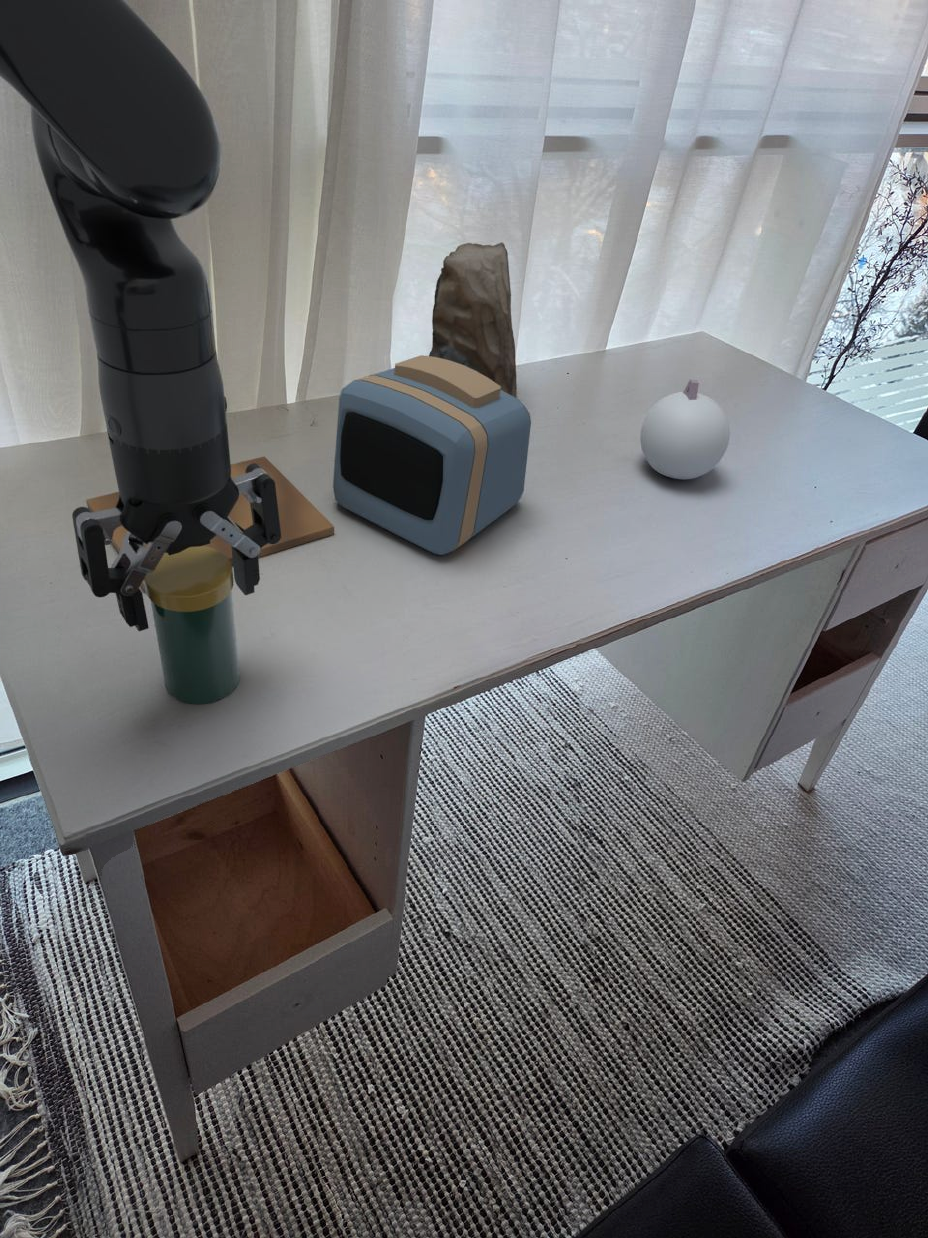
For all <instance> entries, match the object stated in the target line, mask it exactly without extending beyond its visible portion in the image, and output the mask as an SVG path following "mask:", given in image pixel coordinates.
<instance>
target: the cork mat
mask: <svg viewBox="0 0 928 1238" xmlns="http://www.w3.org/2000/svg"><path fill="white" fill-rule="evenodd" d="M253 463H256V464H258V465H259V466H260V467H261V468H262V469H263V470H264V471H265V472H266V473H267V474H268V475H269V476H270V477H271V478H272V479H273V480H274V482H275V487H276V495H277V504H278V512H279V520H280V529H281V539H280V541H279V542H278V543H276V544H269V543H268V544H266V545H265V546H263V547H262V548H261V549H260V553H259V554H258V559H259V558H261V557H265V556H269V555H272V554H275V553H279V552H281V551H284V550H287V549H291V548H294V547H298V546H301V545H304V544H307V543H311V542H314V541H317V540H321V539H323V538H326V537H330V536H333V535H335V526H334V525H333V524H332V523H331V522H330V521H329V520H328V519H327V518H326V516H324V515H323V513H321V512H320V511H319V510H318V508H316V506H315V505H314V504H313V503H311V501H309V499H307V497H306V496H305V495H304V494H303V493H302V492H301V491H300V490H298V489H297V487H296V486H294V484H293V483H291V482H290V480H289V479H288V478H287V477H286V476H285V475H284V474H283V473H281V471H280V470H279V469H278V468H277V467H276V466H275V465H274V464H273V463H272V462H271V461H270V460H269V459H268V458H267V457H266V456H261V457H256V458H252V459H248V460H243V461H240V462H236V463H231V478H233V477H236V476H240V475H243V474H246V468H247V467H248V466H249V465H250V464H253ZM118 498H119V491H116V492H113V493H108V494H104V495H100V496H96V497H95V496H94V497H91V498H88V499H87V498H86V499H85V502H86V507H87V508H88V509H89V510H90V511H91V513H92V512H97V511H102V510H107V509H112V508H115V507H116V504H117V502H118ZM228 516H229V517H230V518H231V519H232V520H233V521H235V522H236V523H237V524H239V525H240V526H241V527H242V528H244V529H247V528H248V527H250V526H251V525H253V520H252V513H251V507H250V502H249V501H248V500H247V499H246V498H245V497H244V495H243V494H239V497H238V500H237V502H236V504H235V505H234V507H233V509H232V510H231V512H230V514H229V515H228ZM126 533H127V530H126V529H125V528H124V527H123V526H119V527H117V528H116V529H115V530H114V532H113V538H112V540H111V543H110V544H112V546H113V548H114V549H115V550H116V551H117V553H118V554H119V553H120V550H121V541H122V539H123V538H124V536H125V534H126ZM146 546H147V544H146V543H143V547H144V549H145V547H146ZM204 546H206V547H210V548H214V549H216V550H218V551H220V552H222V553H223V554H224V555H226V556H227V557H228V559H229V560H230V562H231V564H232V567H233V558H232V547H231V545H230V544H228V543H227V542H226V541H224V540H223V539H222V538H220V537H219V536H218V535H216V536H215V537H214V538H213V539H211V540H210V544H207V545H204ZM140 587H141V589H142V590H143V592H144V593H146V590H145V585H144V580H143V582H142V583H141V585H140Z"/></svg>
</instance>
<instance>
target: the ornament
mask: <svg viewBox="0 0 928 1238" xmlns="http://www.w3.org/2000/svg"><path fill="white" fill-rule="evenodd" d="M699 385H700V382H699V381H698V379H689V380H688V382H687V384H686V386H685V387H684V390H683V391H679V392H674V393H670V394H668V395H666V396H664V397H662V398H661V399H660V400H658V401H657V402H656V403H655V404H654V405H653V406H652V407H651V408H650V409H649V411H648V412H647V413H646V415H645V417H644V420H643V422H642V425H641V429H640V437H639V439H640V447H641V451H642V454H643V456H644V458H645V460H646V462H647V463H648V464H649V465H650V466H651V468H652V469H654V470H655V471H656V472H658V474H661V475H663V476H665V477H667V478H671V479H675V480H691V479H696V478H699V477H702V476H703V475H706V474H707V473H709V472H711V470H713V469H714V468H715V467H716V466H717V465H718V464H719V463H720V462H721V460H722V459H723V457H724V456H725V453H726V451H727V449H728V447H729V442H730V435H731V434H730V433H731V432H730V430H731V429H730V423H729V420H728V417H727V415H726V413H725V411H724V410H723V408H722V407H721V406H720V404H718V403H717V402H716V401H715V400H714V399H712V398H711V397H709V396H707V395H705V394H702V393H699V391H698V390H699Z"/></svg>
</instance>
